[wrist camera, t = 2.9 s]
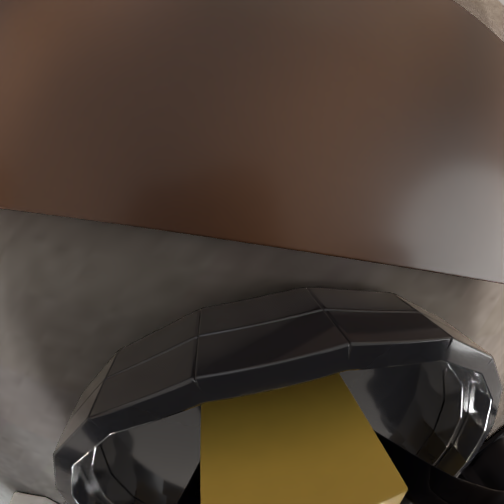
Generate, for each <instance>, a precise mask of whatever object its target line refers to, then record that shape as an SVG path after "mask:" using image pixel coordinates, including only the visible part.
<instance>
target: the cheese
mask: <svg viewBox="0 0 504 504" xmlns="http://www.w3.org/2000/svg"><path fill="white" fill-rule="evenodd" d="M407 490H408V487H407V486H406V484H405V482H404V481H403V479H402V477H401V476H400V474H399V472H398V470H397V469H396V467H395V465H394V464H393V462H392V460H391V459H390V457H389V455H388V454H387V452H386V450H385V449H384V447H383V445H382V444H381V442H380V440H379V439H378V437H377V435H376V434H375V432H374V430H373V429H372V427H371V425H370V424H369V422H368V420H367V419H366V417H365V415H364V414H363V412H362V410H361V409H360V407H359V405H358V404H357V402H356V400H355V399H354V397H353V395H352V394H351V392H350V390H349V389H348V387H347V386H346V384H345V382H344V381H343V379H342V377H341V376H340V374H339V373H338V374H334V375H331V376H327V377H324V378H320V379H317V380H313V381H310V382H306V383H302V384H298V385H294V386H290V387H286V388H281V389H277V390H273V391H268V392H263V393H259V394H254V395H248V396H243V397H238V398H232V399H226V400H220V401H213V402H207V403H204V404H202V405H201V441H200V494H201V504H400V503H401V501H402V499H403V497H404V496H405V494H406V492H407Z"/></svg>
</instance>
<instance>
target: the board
mask: <svg viewBox="0 0 504 504" xmlns="http://www.w3.org/2000/svg"><path fill="white" fill-rule="evenodd" d="M0 208H1V209H9V210H17V211H25V212H32V213H40V214H47V215H55V216H62V217H69V218H77V219H84V220H91V221H99V222H106V223H113V224H120V225H127V226H134V227H141V228H148V229H155V230H162V231H169V232H176V233H183V234H190V235H197V236H204V237H211V238H217V239H224V240H231V241H238V242H244V243H251V244H258V245H264V246H271V247H277V248H284V249H291V250H297V251H304V252H310V253H317V254H323V255H329V256H336V257H342V258H349V259H355V260H361V261H368V262H374V263H380V264H386V265H393V266H399V267H405V268H411V269H417V270H423V271H429V272H436V273H442V274H448V275H454V276H460V277H466V278H472V279H478V280H483V281H489V282H495V283H501V284H504V42H503V41H502V40H501V39H500V38H499V37H498V36H497V35H495V34H494V33H493V32H492V31H491V30H490V29H489V28H488V27H486V26H485V25H484V24H483V23H482V22H481V21H479V20H478V19H477V18H476V17H475V16H473V15H472V14H471V13H469V12H468V11H467V10H466V9H464V8H463V7H462V6H460V5H459V4H458V3H456V2H455V1H453V0H0Z"/></svg>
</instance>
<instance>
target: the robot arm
mask: <svg viewBox="0 0 504 504" xmlns="http://www.w3.org/2000/svg"><path fill="white" fill-rule="evenodd" d="M374 432H375V434H376V435H377V437H378V439H379V440H380V442H381V444H382V445H383V447H384V449H385V450H386V452H387V454H388V455H389V457H390V459H391V460H392V462H393V464H394V465H395V467H396V469H397V470H398V472H399V474H400V476H401V477H402V479H403V481H404V482H405V484H406V486H407V487H408V490H407V492H406V494H405V496H404V497H403V499H402V501H401V503H400V504H504V428H503V429H502V430H500V431H499V432H498V433H497V434H495V435H494V436H493V437H492V438H490V439H489V440H488V441H487V442H485V443H484V444H483V445H482V446H481V448H480V449H479V451H478V452H477V454H476V456H475V457H474V458H473V460H472V461H471V462H470V463H469V464H468V466H467V467H466V468H465V469H464V470H463V471H462V472H461V474H460V475H459V476H458V477H455V476H452V475H450V474H448V473H446V472H444V471H442V470H440V469H438V468H437V467H435V466H433V465H432V466H431V464H429V463H428V462H426V461H424V460H422V459H421V458H419V457H417V456H415V455H414V454H412V453H410V452H409V451H407V450H405V449H404V448H402V447H400V446H399V445H397V444H396V443H394V442H392V441H391V440H389V439H387V438H386V437H384V436H383V435H381V434H380V433H378V432H376V431H375V430H374ZM177 504H201V494H200V461H199V463H198V465H197V467H196V469H195V471H194V473H193V475H192V477H191V478H190V480H189V482H188V484H187V486H186V488H185V490H184V492H183V493H182V495H181V497H180V499H179V501H178V502H177Z"/></svg>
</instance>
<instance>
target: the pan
mask: <svg viewBox="0 0 504 504" xmlns="http://www.w3.org/2000/svg"><path fill="white" fill-rule="evenodd" d="M338 373H339V374H340V376H341V377H342V379H343V381H344V382H345V384H346V386H347V387H348V389H349V390H350V392H351V394H352V395H353V397H354V399H355V400H356V402H357V404H358V405H359V407H360V409H361V410H362V412H363V414H364V415H365V417H366V419H367V420H368V422H369V424H370V425H371V427H372V429H373V430H375V431H376V432H378V433H380V434H381V435H383V436H384V437H386V438H387V439H389V440H391V441H392V442H394V443H396V444H397V445H399V446H400V447H402V448H404V449H405V450H407V451H409V452H410V453H412V454H414V455H415V456H417V457H419V458H421V459H422V460H424V461H426V462H428V463H429V464H431V466H432V465H433V466H435V467H437V468H438V469H440V470H442V471H444V472H446V473H448V474H450V475H452V476H455V477H458V476H459V475H460V474H461V472H462V471H463V470H464V469H465V468H466V467H467V466H468V464H469V463H470V462H471V461H472V460H473V458H474V457H475V456H476V454H477V452H478V451H479V449H480V448H481V446H482V444H483V443H484V441H485V439H486V437H487V436H488V434H489V432H490V430H491V428H492V427H493V425H494V422H495V419H496V415H497V411H498V407H499V403H500V398H501V394H502V384H501V380H500V377H499V374H498V371H497V367H496V364H495V361H494V358H493V356H492V355H491V354H489V353H488V352H487V351H485V350H484V349H483V348H481V347H480V346H479V345H477V344H476V343H475V342H473V341H472V340H471V339H469V338H468V337H467V336H465V335H463V334H462V333H461V332H460V331H458V330H457V329H456V328H454V327H453V326H451V325H450V324H449V323H447V322H446V321H444V320H443V319H442V318H440V317H438V316H436V315H434V314H433V313H431V312H429V311H427V310H425V309H423V308H421V307H419V306H417V305H415V304H414V303H412V302H410V301H408V300H406V299H404V298H402V297H400V296H398V295H396V294H392V293H388V292H372V291H356V290H342V289H328V288H315V287H307V288H306V287H302V288H298V289H293V290H289V291H284V292H279V293H275V294H270V295H265V296H261V297H256V298H251V299H246V300H241V301H236V302H231V303H226V304H221V305H216V306H210V307H205V308H202V309H201V310H196V311H194V312H193V313H191V314H189V315H187V316H185V317H183V318H181V319H179V320H177V321H175V322H173V323H171V324H169V325H167V326H165V327H163V328H161V329H160V330H158V331H156V332H154V333H152V334H150V335H148V336H146V337H144V338H142V339H140V340H138V341H136V342H134V343H132V344H130V345H128V346H126V347H124V348H122V349H120V350H119V351H117V352H116V354H115V355H114V356H113V357H112V358H111V359H110V361H109V362H108V363H107V364H106V365H105V367H104V368H103V369H102V370H101V371H100V373H99V374H98V375H97V376H96V377H95V379H94V380H93V381H92V382H91V383H90V385H89V386H88V387H87V388H86V389H85V391H84V392H83V393H82V394H81V396H80V398H79V400H78V402H77V404H76V406H75V408H74V410H73V412H72V414H71V416H70V418H69V421H68V423H67V425H66V427H65V429H64V431H63V433H62V435H61V437H60V440H59V442H58V444H57V446H56V449H55V451H54V453H53V462H54V475H55V485H56V488H57V490H58V492H59V493H60V495H61V496H62V497H63V499H64V500H65V501H66V503H67V504H177V502H178V501H179V499H180V497H181V495H182V493H183V492H184V490H185V488H186V486H187V484H188V482H189V480H190V478H191V477H192V475H193V473H194V471H195V469H196V467H197V465H198V463H199V461H200V441H201V405H202V404H204V403H207V402H213V401H220V400H226V399H232V398H238V397H243V396H248V395H254V394H259V393H263V392H268V391H273V390H277V389H281V388H286V387H290V386H294V385H298V384H302V383H306V382H310V381H313V380H317V379H320V378H324V377H327V376H331V375H334V374H338Z"/></svg>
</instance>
